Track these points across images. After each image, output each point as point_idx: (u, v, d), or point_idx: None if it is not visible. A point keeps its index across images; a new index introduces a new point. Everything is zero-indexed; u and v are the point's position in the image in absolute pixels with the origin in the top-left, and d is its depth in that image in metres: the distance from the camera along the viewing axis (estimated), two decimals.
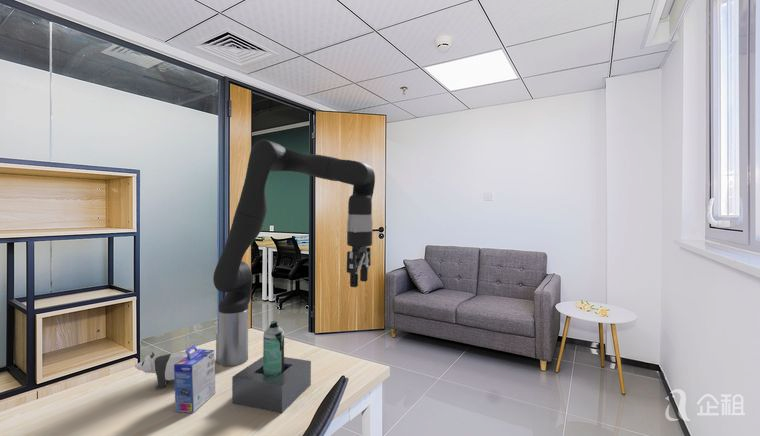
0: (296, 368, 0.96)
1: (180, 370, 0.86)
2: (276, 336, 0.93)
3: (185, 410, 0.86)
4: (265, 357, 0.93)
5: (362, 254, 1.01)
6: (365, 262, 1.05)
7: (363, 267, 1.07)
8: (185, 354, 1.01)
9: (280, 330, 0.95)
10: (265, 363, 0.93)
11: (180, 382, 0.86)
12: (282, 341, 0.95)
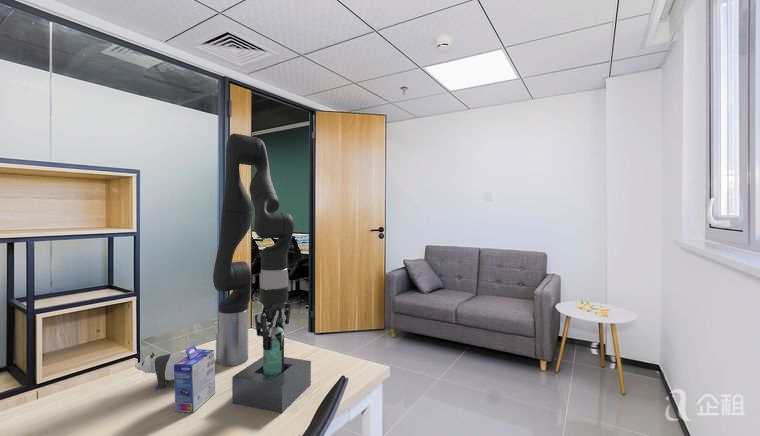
0: (296, 368, 0.96)
1: (179, 370, 0.86)
2: (276, 336, 0.93)
3: (185, 410, 0.86)
4: (265, 357, 0.93)
5: (275, 313, 0.93)
6: (281, 320, 0.97)
7: (279, 326, 0.98)
8: (185, 354, 1.01)
9: (280, 330, 0.95)
10: (265, 363, 0.93)
11: (180, 382, 0.86)
12: (282, 341, 0.95)
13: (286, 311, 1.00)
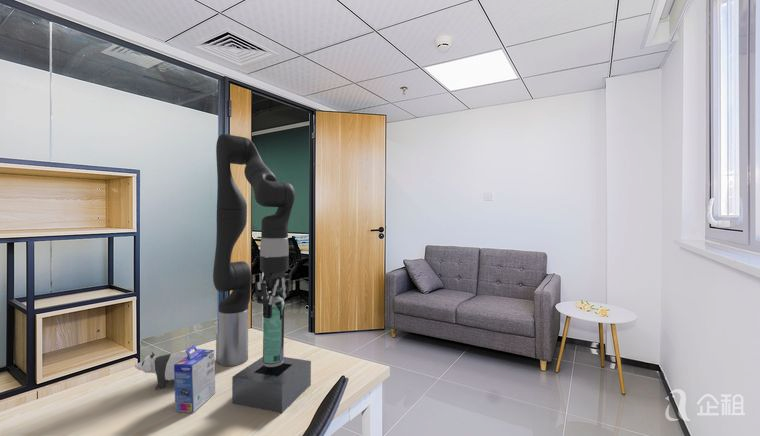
0: (296, 368, 0.96)
1: (179, 370, 0.86)
2: (276, 304, 0.93)
3: (185, 410, 0.86)
4: (265, 325, 0.93)
5: (275, 281, 0.93)
6: (281, 289, 0.97)
7: (279, 296, 0.98)
8: (185, 354, 1.01)
9: (280, 299, 0.95)
10: (265, 332, 0.93)
11: (180, 382, 0.86)
12: (282, 310, 0.95)
13: (286, 282, 1.00)
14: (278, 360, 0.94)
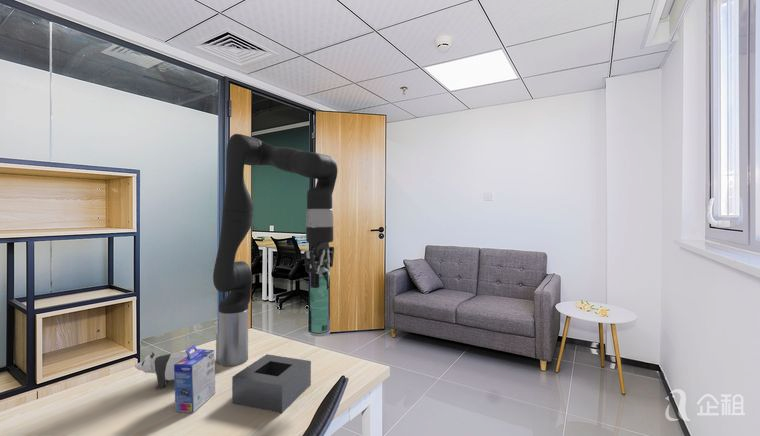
0: (296, 368, 0.96)
1: (179, 370, 0.86)
2: (323, 274, 0.94)
3: (185, 410, 0.86)
4: (313, 295, 0.94)
5: (322, 251, 0.94)
6: (326, 261, 0.98)
7: None
8: (185, 354, 1.01)
9: (326, 270, 0.96)
10: (313, 301, 0.95)
11: (180, 382, 0.86)
12: (328, 280, 0.96)
13: (330, 254, 1.01)
14: (326, 330, 0.95)
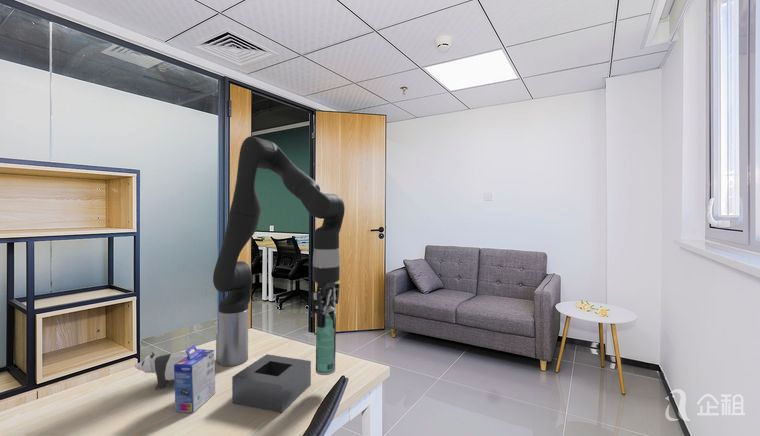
0: (296, 368, 0.96)
1: (179, 370, 0.86)
2: (329, 314, 0.95)
3: (185, 410, 0.86)
4: (319, 334, 0.95)
5: (328, 291, 0.95)
6: (332, 299, 0.99)
7: None
8: (185, 354, 1.01)
9: (332, 308, 0.97)
10: (319, 340, 0.95)
11: (180, 382, 0.86)
12: (334, 319, 0.97)
13: (335, 291, 1.02)
14: (331, 368, 0.96)
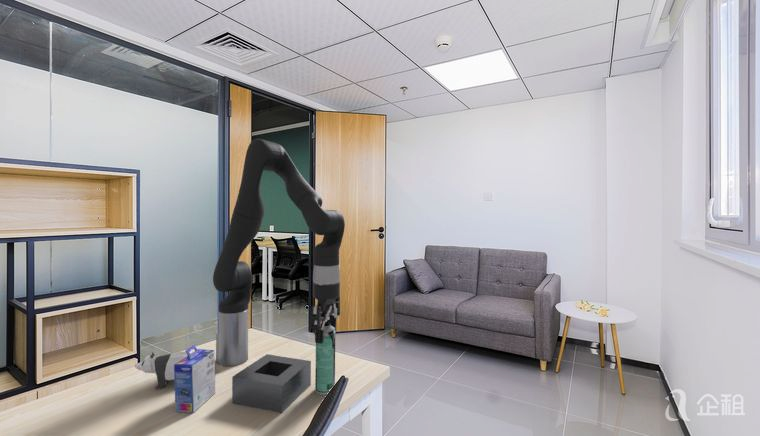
0: (296, 368, 0.96)
1: (179, 370, 0.86)
2: (329, 334, 0.95)
3: (185, 410, 0.86)
4: (318, 354, 0.95)
5: (328, 307, 0.95)
6: (333, 313, 1.00)
7: (331, 318, 1.01)
8: (185, 354, 1.01)
9: (332, 328, 0.97)
10: (318, 360, 0.96)
11: (180, 382, 0.86)
12: (334, 339, 0.97)
13: (336, 304, 1.03)
14: None
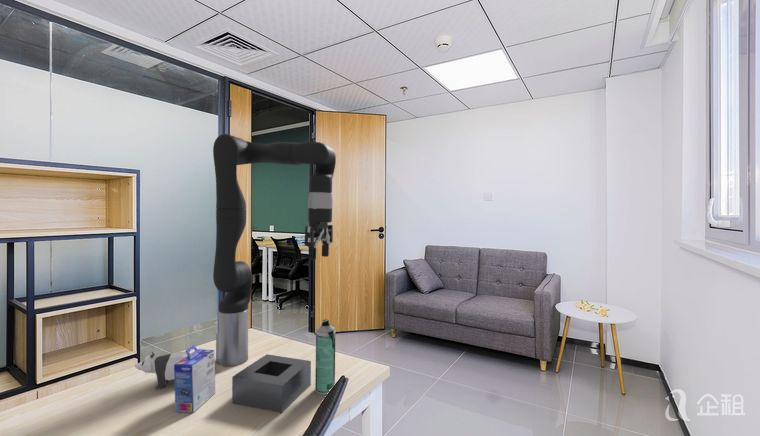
0: (296, 368, 0.96)
1: (180, 370, 0.86)
2: (329, 334, 0.95)
3: (185, 410, 0.86)
4: (318, 354, 0.95)
5: (321, 230, 1.07)
6: (326, 238, 1.12)
7: (324, 243, 1.13)
8: (185, 354, 1.01)
9: (332, 328, 0.97)
10: (318, 360, 0.96)
11: (180, 382, 0.86)
12: (334, 339, 0.97)
13: (329, 232, 1.15)
14: None
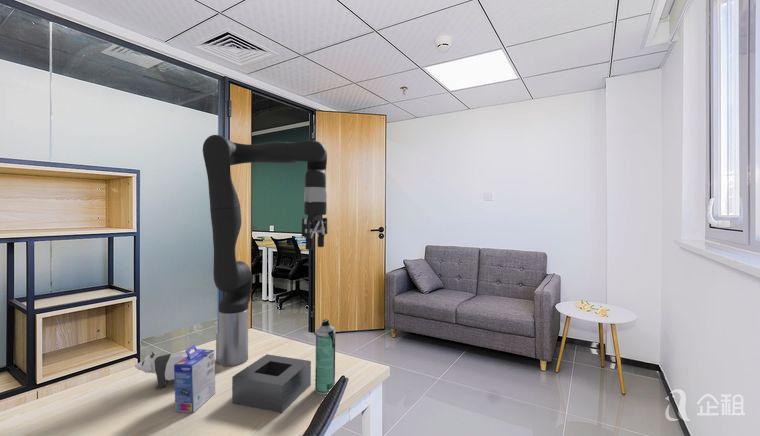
0: (296, 368, 0.96)
1: (179, 370, 0.86)
2: (329, 334, 0.95)
3: (185, 410, 0.86)
4: (318, 354, 0.95)
5: (317, 221, 1.16)
6: (321, 230, 1.20)
7: (320, 235, 1.22)
8: (185, 354, 1.01)
9: (332, 328, 0.97)
10: (318, 360, 0.96)
11: (180, 382, 0.86)
12: (334, 339, 0.97)
13: (324, 224, 1.23)
14: None
